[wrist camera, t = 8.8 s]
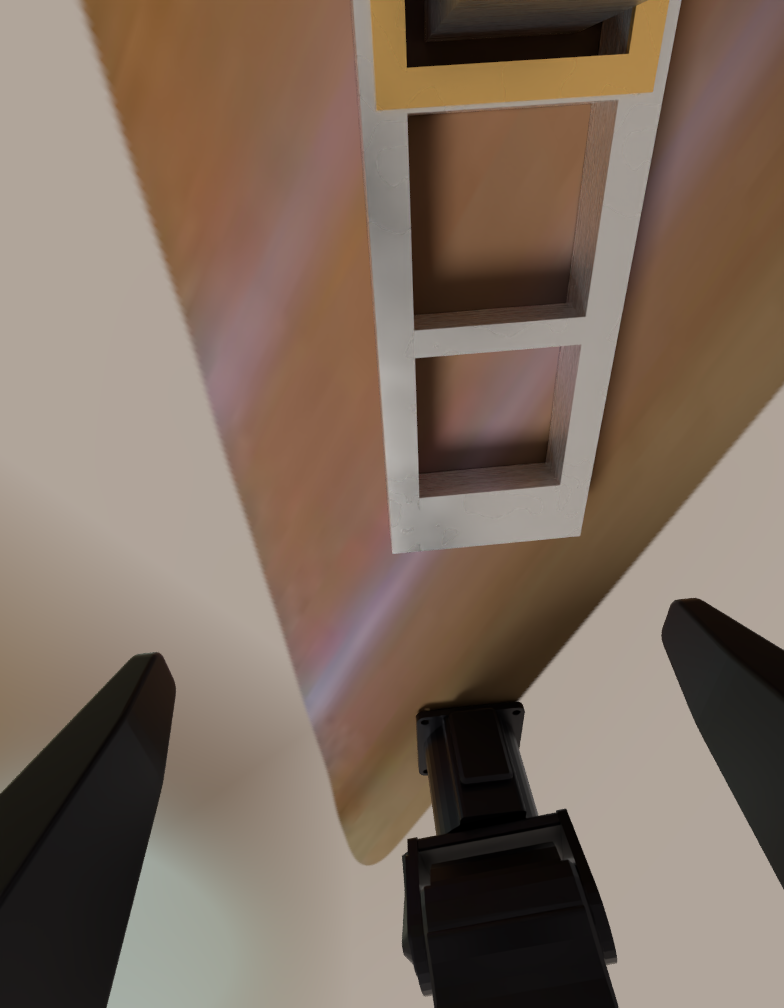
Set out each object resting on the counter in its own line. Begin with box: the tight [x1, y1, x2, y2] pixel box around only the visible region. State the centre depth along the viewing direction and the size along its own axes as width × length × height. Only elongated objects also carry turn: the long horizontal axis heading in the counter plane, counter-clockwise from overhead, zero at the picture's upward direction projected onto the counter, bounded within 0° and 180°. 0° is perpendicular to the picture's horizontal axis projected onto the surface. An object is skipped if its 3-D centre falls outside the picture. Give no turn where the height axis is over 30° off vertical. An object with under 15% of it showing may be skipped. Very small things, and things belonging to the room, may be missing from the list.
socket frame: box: [350, 0, 681, 554], centre depth 16 cm, size 24×8×2 cm, turn 3°
